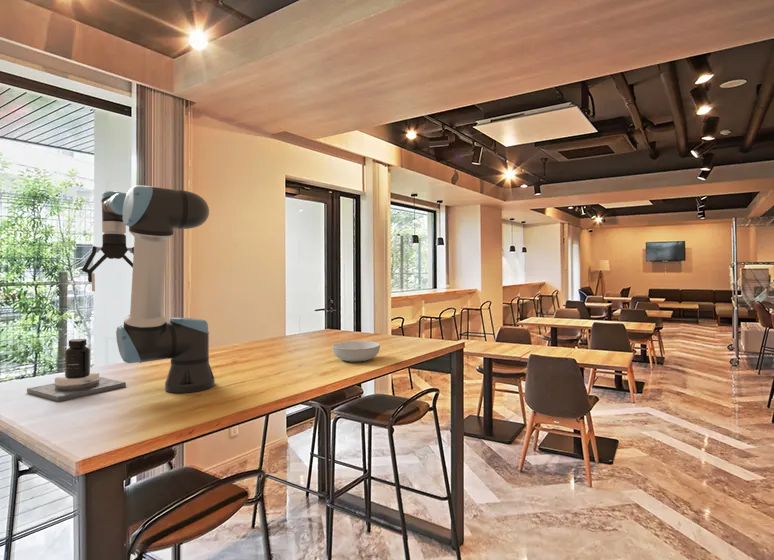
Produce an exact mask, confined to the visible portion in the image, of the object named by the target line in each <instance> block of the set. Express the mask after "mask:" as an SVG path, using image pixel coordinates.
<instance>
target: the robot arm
mask: <svg viewBox="0 0 774 560" xmlns="http://www.w3.org/2000/svg"><path fill="white" fill-rule="evenodd" d="M100 202H101V219H102V220H101V224H102V225H101V228H102V229H101V231H102V233H103V234H102V245H101V246H100V247H99V246H94V245H93V246H92V247H91V248H92V250H91V253H90V255H89V257H88V258H87V260H86V261H85V263H84V265H83V266H82V268H81V272H84V273H86V274H87V280H88V283H91V292H95V291H96V277H95V275H96V274H95V273H93V272H94V271H95V270H96V269H97V268H98V267H100V265H101V264H102V263H103V262H104V261H106V259H110V260H113V259H116V260H121V259H123V260H124V261H125V262H126V263H127V264H128V265H129V266H130V267H131V268H132V274H131V276H132V277H131V291H130V292H131V295H130V312H129V314H128V315H127V316H125V317H124V319H123V325H120V326H117V327H116V331H115V333H116V334H115V335H116V338H115V339H116V344H117V347H118V348H117V349H118V352H119V355H120V357H121V359H122V361H123V362H124V363H126V364H134V363H135V364H136V363H137V364H138V363H139V364H141V363H147V362H154V361H162V360H168V359H170V368H169V370H168V374H167V377H166V380H165V382H164V390H165V392H169V393H175V394H176V393H177V394H181V393H182V394H183V393H185V394H186V393H194V392H195V393H196V392H200V391H206V390H208V389H210V388H213V387H215V383H216V382H215V377H214V374H213V371H212V368H211V365H210V361H209V360H210V359H209V358H210V357H209V356H210V355H209V354H210V352H209V350H210V348H209V338H210V336H209V335H210V332H209V325H208V324H209V323H208V321H207V320H204V319H202V318H201V319H200V318H192V317H191V318H190V317H171V318H170V319H169V320H168V321H169V322H168V321H167V318H166V316H164V315H163V314H162V312H163V300H164V299H163V298H164V287H165V285H164V284H165V272H166V261H167V259H166V257H167V249H168V248H167V246H168V240H169V239H171V238H172V237H173V236H174V229H176V230H177V229H179V230H185V229H187V230H188V229H194V228H197V227H200V226H202V225H203V224H205V222H207V220H208V218H209V215H210V207H209V205H208V203H207V201H206V200H205V199H204V198H203V197H202V196H201V195H199V194H197V193H194V192H191V191H188V190H184V189H181V190H180V189H173V188H163V187H159V186H158V187H157V186H150V185H134V186H132V187H130V188H129V190H128V192H120V191H115V190H114V191H113V190H108V191H106V190H105V191H103V192H102V194H101V199H100ZM127 227H128V232H129V233H130V235H132V236H133V238H134V240H133V241H134V242H133V246H132V247H127V235H126V232H127ZM100 251H101V252H102V253H103V255H102V256H101V257H100V258H99V259H98V260H97V261H96V262H95V263H94V264H93V265H92V266H91V267H90V268H89V266H90V264H91V263H92V261H93V260H94V258H95V257H96V254H98V253H99V252H100ZM127 252H129V253H131V254H132V255H133V258H132V261H131V259H129V258H128V257H127V256H126V253H127ZM88 268H89V269H88Z"/></svg>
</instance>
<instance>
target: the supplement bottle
mask: <svg viewBox="0 0 774 560" xmlns="http://www.w3.org/2000/svg"><path fill="white" fill-rule="evenodd" d="M87 345H88V343H87V339H86V338H75V339H73V338H72V339H69V340H68V348H67V349H65V351H64V375H65V377H66V378H81V377H86V376H88V375H89V374H90V372H91V350H90V347H88V346H87Z"/></svg>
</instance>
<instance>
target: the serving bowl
mask: <svg viewBox="0 0 774 560" xmlns="http://www.w3.org/2000/svg"><path fill="white" fill-rule="evenodd" d="M331 347H332V348H331V349H332V352H333V354H334V356H335V357H337V358H338V359H340V360H344V361H345V362H350V363H361V362H362V361H363V362H365V361H368V360H371V359H374V358H375V357H376V356H377V355H378V354H379V352H380V349H381V348H380V347H381V344H380V343H379V342H375V341H369V340H345V341H339V342H335V343H333V344H332V345H331ZM363 362H362V363H363Z"/></svg>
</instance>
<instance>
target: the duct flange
mask: <svg viewBox="0 0 774 560" xmlns="http://www.w3.org/2000/svg"><path fill="white" fill-rule="evenodd" d="M122 388H127V383H126V382H125V381H121V380H116V379H111V378H107V377H102V376H100V373H99V372H97V371H95V372H93V371H90V374H89V375H88V376H86V377H81V378H66V377H65V374H63V375H59V376H56V377H55V378H54V383H47V384H45V385H44V384H43V385H38V386H33V387H28V388H26V393H27V394H28V393H29V395H32V396H35V395H36V397H39V398H43V399H47V400H50V401H54V402H56V403H59V402H64V401H68V400H73V399H77V398H81V397H82V398H83V397H86V396H90V395H91V396H92V395H94V394H95V395H96V394H99V393H103V392H104V393H105V392H108V391H113V389H114V390H117V389H122Z"/></svg>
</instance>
